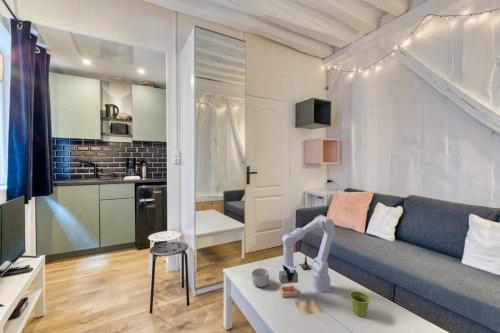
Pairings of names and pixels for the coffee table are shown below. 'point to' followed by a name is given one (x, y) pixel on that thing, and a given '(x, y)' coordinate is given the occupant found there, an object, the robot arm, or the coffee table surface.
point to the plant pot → (359, 303)
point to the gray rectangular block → (284, 278)
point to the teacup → (260, 277)
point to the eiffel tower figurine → (305, 265)
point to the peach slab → (288, 291)
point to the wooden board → (308, 307)
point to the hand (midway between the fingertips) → (288, 278)
